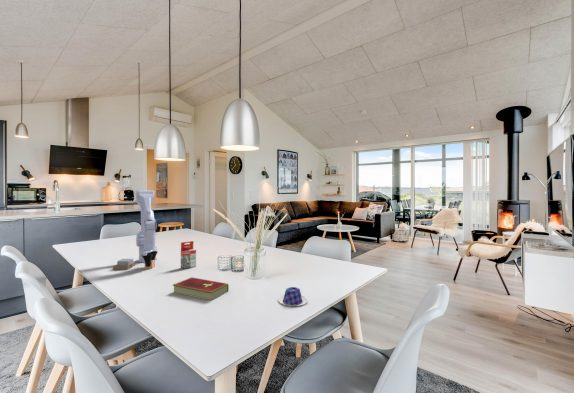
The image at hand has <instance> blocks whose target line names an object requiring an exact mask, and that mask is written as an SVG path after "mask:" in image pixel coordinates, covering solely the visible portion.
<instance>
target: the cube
mask: <svg viewBox="0 0 574 393" xmlns="http://www.w3.org/2000/svg"><path fill="white" fill-rule="evenodd" d="M155 267H156V260H151V265H150V267H146V264H145V263H144V269H145V270H148V269H149V270H150V269H151V270H152V269H154V268H155Z"/></svg>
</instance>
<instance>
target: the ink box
mask: <svg viewBox="0 0 574 393" xmlns="http://www.w3.org/2000/svg"><path fill="white" fill-rule="evenodd" d="M195 267H197V250H196V249H195V248H194V241H193V240H191V241H183V242H180V268H181V269H183V270H185V269H188V268H195Z"/></svg>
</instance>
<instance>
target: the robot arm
mask: <svg viewBox="0 0 574 393" xmlns="http://www.w3.org/2000/svg"><path fill="white" fill-rule="evenodd" d="M154 200H155V191H154V190H151V189H150V190H144V189H143V190H142V189H141V190H140V189H139V190H136V192H135V202H136V204H137V205H139V207H140V226H141V229H140V230H141V231H139V232H137V234H136V236H135V237H136V238H135V240H136V241H135V243H136V247H138V259H136V260H135V262H139V263H144V265H145V264H146V267H150V265H151V260H155V261H156V260H157V259H158V258H157V255H158V249H157V246H156V230H157V228H158V225H157V220H156V219H155V213H154V210H152V204H153V203H154Z"/></svg>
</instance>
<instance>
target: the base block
mask: <svg viewBox="0 0 574 393" xmlns="http://www.w3.org/2000/svg"><path fill="white" fill-rule="evenodd" d="M133 266H134V267H135V266H136V262H133V263H132V264H131V265H129V266H117V264H115V265H113V266H112V271H116V270H117V271H122V270H123V271H126V270H127V271H128V270H130V269H132V268H134V267H133Z"/></svg>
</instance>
